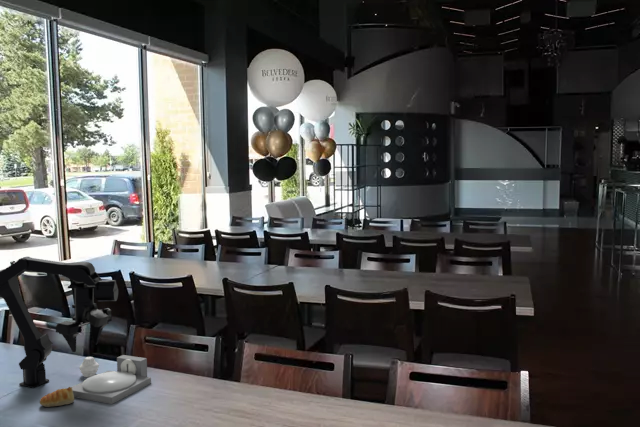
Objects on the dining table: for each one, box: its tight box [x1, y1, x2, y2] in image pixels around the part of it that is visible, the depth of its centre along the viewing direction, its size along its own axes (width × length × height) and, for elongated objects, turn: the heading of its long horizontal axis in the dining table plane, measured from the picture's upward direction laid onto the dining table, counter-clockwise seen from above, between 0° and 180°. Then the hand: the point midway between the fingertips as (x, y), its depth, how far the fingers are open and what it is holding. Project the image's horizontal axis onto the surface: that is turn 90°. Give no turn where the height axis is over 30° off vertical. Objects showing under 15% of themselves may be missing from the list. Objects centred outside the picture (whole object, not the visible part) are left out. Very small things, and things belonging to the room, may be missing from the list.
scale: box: [71, 354, 152, 405], centre depth 183 cm, size 18×21×7 cm
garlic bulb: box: [79, 356, 100, 378], centre depth 193 cm, size 6×6×7 cm
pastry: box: [39, 386, 75, 408], centre depth 170 cm, size 9×7×4 cm
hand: (85, 347), depth 186 cm, fingers open, 9 cm apart
